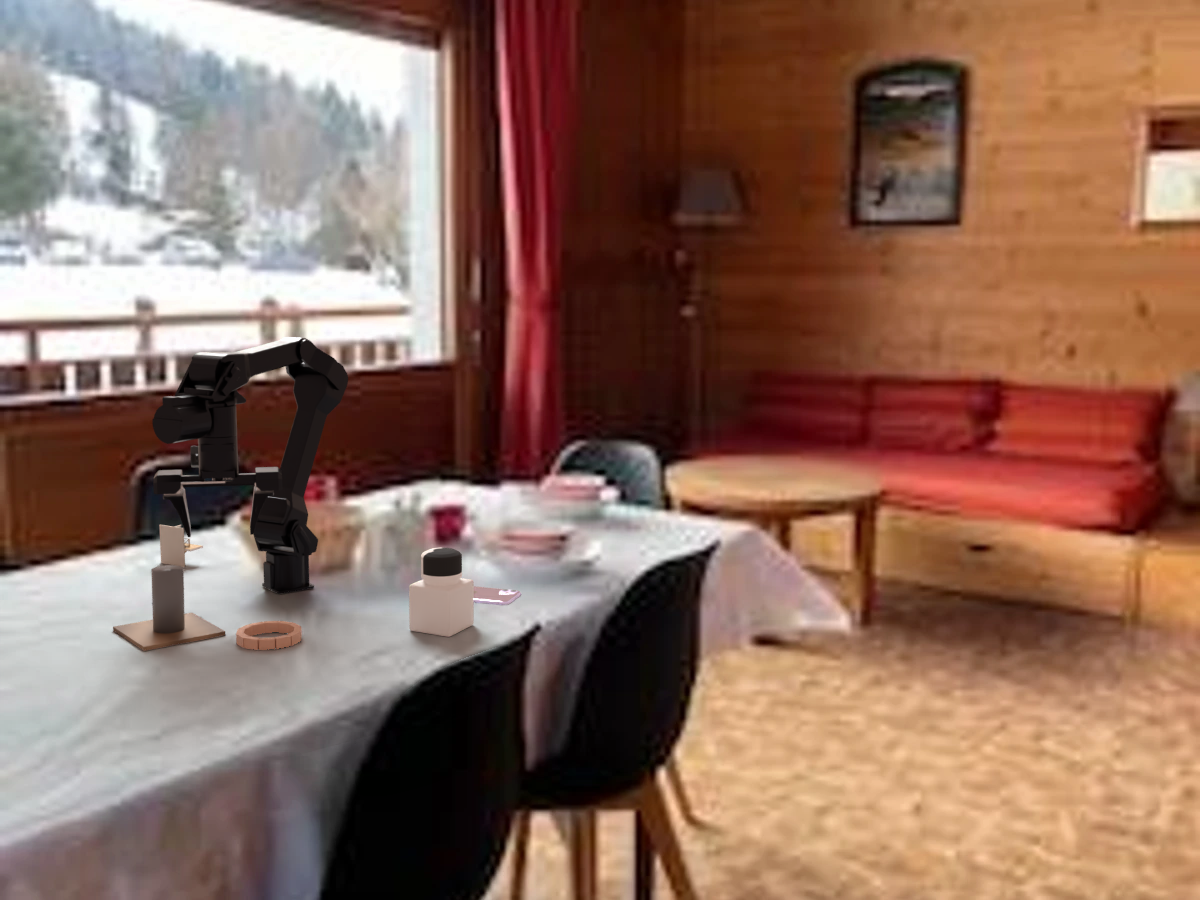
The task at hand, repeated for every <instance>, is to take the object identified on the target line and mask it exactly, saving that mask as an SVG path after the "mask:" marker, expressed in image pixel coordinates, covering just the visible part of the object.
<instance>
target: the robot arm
mask: <svg viewBox="0 0 1200 900" xmlns="http://www.w3.org/2000/svg"><path fill="white" fill-rule="evenodd" d="M188 365H189V366H187V368H186V371H185V373H184V374H183V377H182V379H181V381H180V384H179V386H178V387H177V390H176V392H175V394H174V396H172V395H170V396H169V395H168V396H163V397H162V402H161V403H162V405H161V406H159V407H158V408H157V409H156V411H155V412H154V414H153V418H152V428H153V431H154V434H155V436H156V437H157V438H158V440H159V441H160V442H162V443H164V444H165V445H167V444H168V445H169V444H176V443H182V442H187V441H192V440H197V444H198V445H191V446H190V466H191V467H190V468H198V474H186V475H185V474H183V469H162V470H161V469H159V470H157V472H156V473H154V477H153V482H152V483H153V484H152V485H153V486H152V487H153V494H154V495H162V499H163V500H165V501H168V500H169V501H170V502H171V504H172V506H173V508H174V509H175V511H176V512H177V514H178V516H179V519H180V521H181V525H182V526H183V528H184V531H185V534H186V536H187V538H192V537H191V536H192V532H191V531H192V528H191V527H192V526H191V520H190V513H189V509H188V501H187V494H186V489H185V488H203V487H205V488H206V487H208V488H209V487H236V486H238V487H239V486H253V494H252V502H251V503H252V504H251V511H250V521H249V531H250V535H251V536H252V535H253V538H254V541H255V544H256V548H257V551H258V552H265V561H263V567H262V568H263V582H262V584H261V585H262V586H261V587H263V588H265V589H267V590H269V591H271V592H274V593H276V594H278V595H282V594H287V593H293V592H299V591H305V590H311V589H314V588H315V585H314V584H313V583H310V556H312V555H313V553H316V552H317V548H318V544H319V538H318V537H317V536H316V534H315V533H314V532H312V530H311V529H310V528H309V527H308V521H309V520H308V519H309V513H308V512H309V511H308V509H307V508H308V507H307V504H306V502H305V493H306V490H307V486H308V483H309V480H310V476H311V472H312V469H313V466H314V462H315V459H316V458H315V457H316V455H317V452H318V448H319V445H320V440H321V438H322V434H323V430H324V427H325V424H326V423H325V422H326V419H327V417H328V415H330V414H331V413H332V411H334V410H335V408H336V407H337V406H338V405H339V404H340V403H341V402H342V399H343V396H344V394H345V391H346V389H347V387H348V384H349V375H348V373H347V371H346V369H345V366H344V365H343V364H342V363H340V362H338V361H337V359H335V357H333V356H331V355H329V354H328V353H326V352H325V351H323V350H322V349H320V348H319V347H317V346H316V345H315V344H314V343H313V342H312V341H311V340H310V339H308V338H306V337H297V336H296V337H294V336H284V337H283V338H281V339H279V340H276V341H271V342H268V343H263V344H261V345H257V346H253V347H249V348H245V349H241V350H238V351H233V352H232V351H200V352H197V353H195V354H193V356H192V357H191V361H190V363H189V364H188ZM284 367H285V371H286V374H287V375H288V377H290V378H291V379H292V380H293V381H294V383H293V388H292V393H293V395H294V399H295V403H296V406H297V408H296V411H295V416H294V418H293V422H292V426H291V428H290V429H291V430H290V432H289V437H288V440H287V443H286V446H285V450H284V452H283V457H282V460H281V464H280V467H278V466H267V467H266V466H265V467H264V466H261V467H255V472H249V473H247V472H246V473H245V472H244V473H239V470H240V468H239V455H238V451H239V450H238V427H237V426H238V425H237V421H238V419H237V405H240V404H246V402H247V399H246V398H245V396H243V395H242V394H240V392H238V389H240V388H242V387H243V386H245V385H247V384H248V383H249V381H250V379H251V378H253V377H255V376H257V375H260V374H264V373H267V372H272V371H275V370H277V369H278V370H279V369H282V368H284ZM207 479H210V480H207Z"/></svg>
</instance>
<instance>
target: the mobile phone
mask: <svg viewBox="0 0 1200 900" xmlns="http://www.w3.org/2000/svg"><path fill="white" fill-rule="evenodd" d="M521 595H522V592H521V591H519V590H516V589H505V588H497V587H485V586H483V587H482V586H475V585H474V603H478V604H479V603H480V604H490V605H499V606H500V605H501V606H505V605H510V604H511V603H513V601H515V600H516V599H518V598H520V596H521Z"/></svg>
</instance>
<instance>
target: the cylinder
mask: <svg viewBox="0 0 1200 900" xmlns="http://www.w3.org/2000/svg"><path fill="white" fill-rule="evenodd" d="M150 573H151V597H152V598H151V601H152V603H151V604H152V605H151V606H152V620H153V631H154V632H157V633H176V632H180V631H182V630H184V629H185V615H184V614H185V581H184V578H185V575H184V567H182V566H176V565H170V564H166V565H160V566H155V567H152V568H151V572H150Z"/></svg>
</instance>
